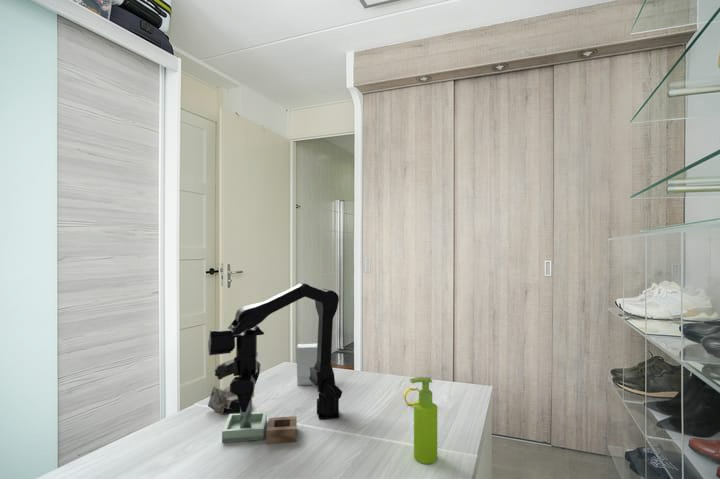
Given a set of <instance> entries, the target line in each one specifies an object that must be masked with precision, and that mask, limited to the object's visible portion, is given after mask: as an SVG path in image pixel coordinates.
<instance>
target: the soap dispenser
mask: <svg viewBox="0 0 720 479" xmlns="http://www.w3.org/2000/svg"><path fill="white" fill-rule="evenodd" d="M409 381H410V383H411V384H415V383H422V384H421V385H422V386H421V389H419V391H418V400H419V402H417V401H416V402H417V403H416V402H414V403H415V404H414V405H413V459H414V460H415V461H416V462H417V463H420V464H423V465H433V464H435V463H436V462H437V461H438V405H437V404H436V403H434V402H433V391H431V389H430V383H431V384H432V383H433V379H432V378H430V377H423V376H422V377H414V378H410V379H409Z"/></svg>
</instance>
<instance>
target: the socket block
mask: <svg viewBox="0 0 720 479" xmlns="http://www.w3.org/2000/svg"><path fill="white" fill-rule="evenodd" d="M297 417H298V416H295V415H294V416H279V417H278V416H276V417H268V419H267V424H266V430H265V435H266V437H265V438H266V440H265V441H266V442H265V443H266V445H267V444H268V445H269V444H281V443H296V442H297V430H298V429H297V428H298V427H297Z"/></svg>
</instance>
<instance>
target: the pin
mask: <svg viewBox="0 0 720 479" xmlns="http://www.w3.org/2000/svg"><path fill="white" fill-rule="evenodd" d="M254 397H255V391H254V392H253V394H252V397H251V399H250V402H249V405H248V407H247V410H246V412H241V408H240V411H239V413H240V428H252V413H253V398H254Z"/></svg>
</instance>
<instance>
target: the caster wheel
mask: <svg viewBox="0 0 720 479" xmlns="http://www.w3.org/2000/svg"><path fill="white" fill-rule="evenodd" d="M207 407H208V408H210V409H211V410H213V411H215V412H217V413H219V414H220V415H223V414H224V410H225V409H227V410H233V411H239V412H240V404H239V400H238V397H237V395H236V394H233V393H232V392H230V386H226V387H223V388H218V387H216V386H213V387H212V390H211V393H210V398H209V400H208V404H207Z"/></svg>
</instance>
